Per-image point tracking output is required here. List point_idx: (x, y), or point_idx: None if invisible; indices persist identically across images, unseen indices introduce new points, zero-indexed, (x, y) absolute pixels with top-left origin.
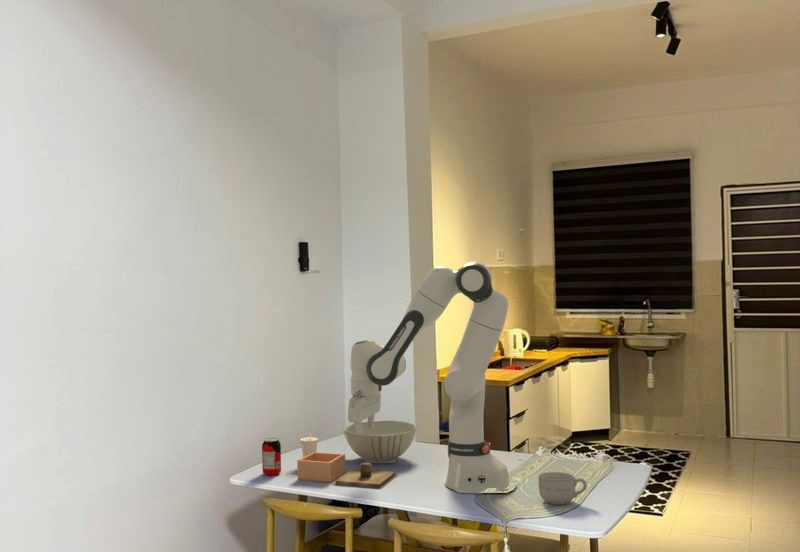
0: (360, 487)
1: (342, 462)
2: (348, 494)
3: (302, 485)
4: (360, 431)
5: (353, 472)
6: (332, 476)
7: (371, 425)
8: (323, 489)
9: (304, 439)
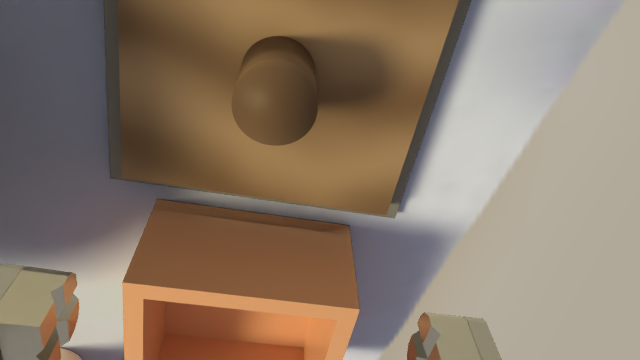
0: (447, 66)
1: (178, 256)
2: (534, 108)
3: (367, 320)
4: (493, 349)
5: (205, 162)
6: (329, 245)
7: (51, 299)
8: (432, 236)
9: None
